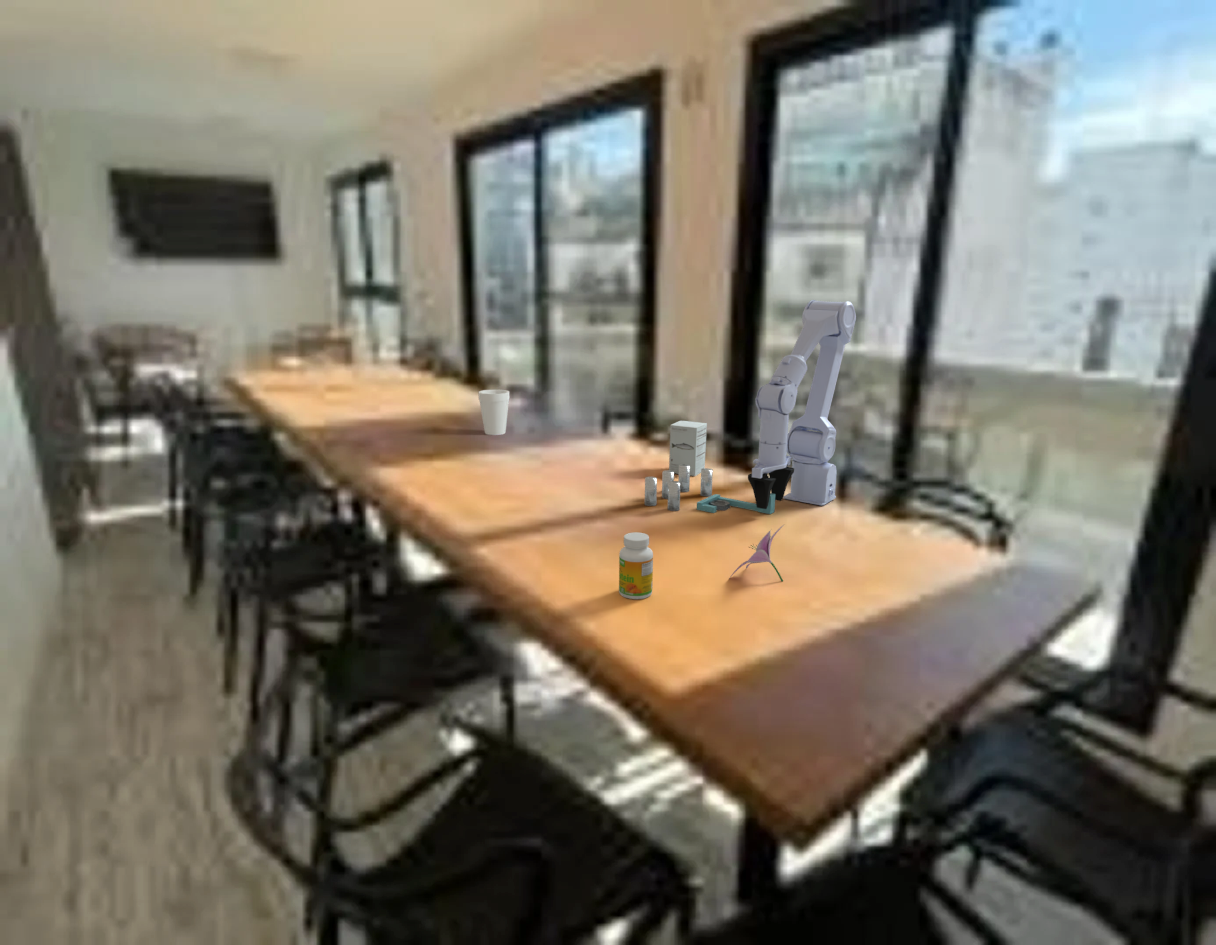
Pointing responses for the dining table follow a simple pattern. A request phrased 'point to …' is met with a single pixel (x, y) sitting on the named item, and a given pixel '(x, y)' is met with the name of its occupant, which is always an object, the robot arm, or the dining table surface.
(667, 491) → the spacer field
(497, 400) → the foam cup
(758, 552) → the lily
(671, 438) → the supplement box
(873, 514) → the dining table surface
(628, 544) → the supplement bottle
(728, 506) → the grey flat hexagonal block
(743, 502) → the hook tool
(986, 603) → the dining table surface
